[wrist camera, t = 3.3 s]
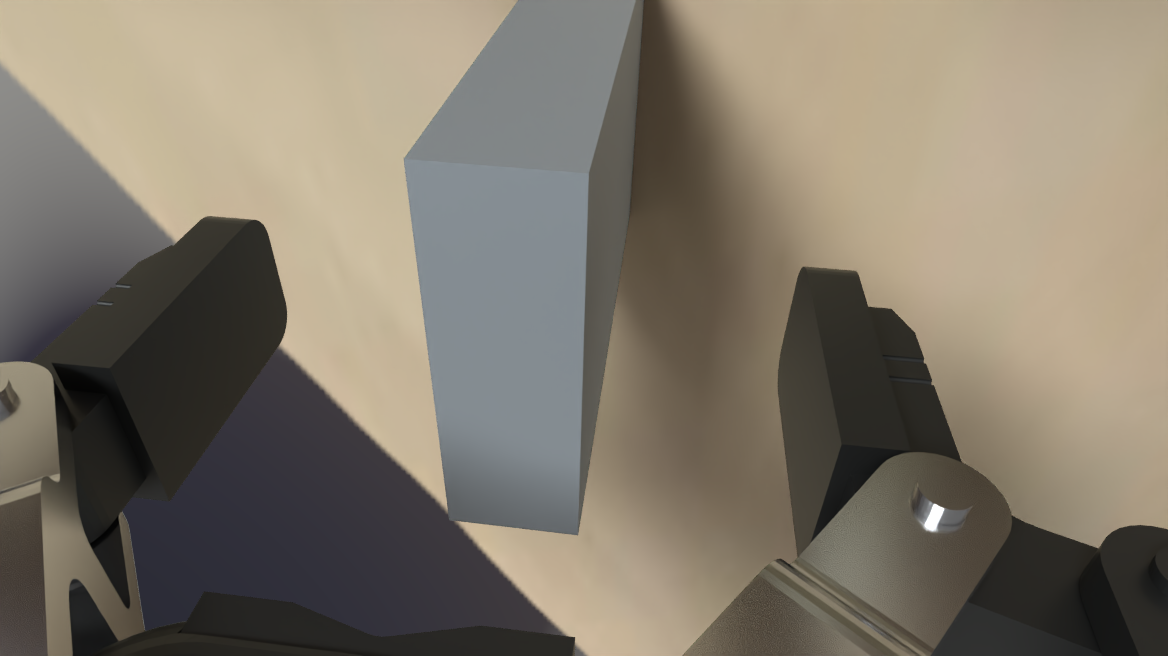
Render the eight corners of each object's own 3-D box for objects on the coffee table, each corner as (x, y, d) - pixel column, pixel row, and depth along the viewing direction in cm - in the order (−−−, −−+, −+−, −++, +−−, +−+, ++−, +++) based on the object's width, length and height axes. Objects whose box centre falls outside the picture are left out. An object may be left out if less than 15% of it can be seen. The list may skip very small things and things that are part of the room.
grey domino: (646, -41, 16) (588, 172, 8) (629, 215, 20) (578, 535, 12) (551, -46, 16) (403, 159, 8) (551, 209, 20) (449, 519, 12)
